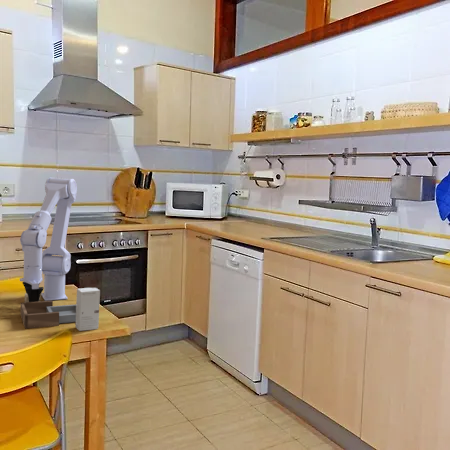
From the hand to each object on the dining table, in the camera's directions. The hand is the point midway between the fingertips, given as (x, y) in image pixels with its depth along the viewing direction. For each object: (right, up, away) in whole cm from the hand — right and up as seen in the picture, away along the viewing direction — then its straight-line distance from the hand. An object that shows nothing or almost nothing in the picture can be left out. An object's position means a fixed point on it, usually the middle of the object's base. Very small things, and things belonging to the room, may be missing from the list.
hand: (32, 304), depth 163 cm
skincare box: (+23, -5, -15) cm, 28 cm away
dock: (+6, -3, -11) cm, 13 cm away
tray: (+15, -3, -6) cm, 16 cm away
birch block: (0, -2, 0) cm, 2 cm away
